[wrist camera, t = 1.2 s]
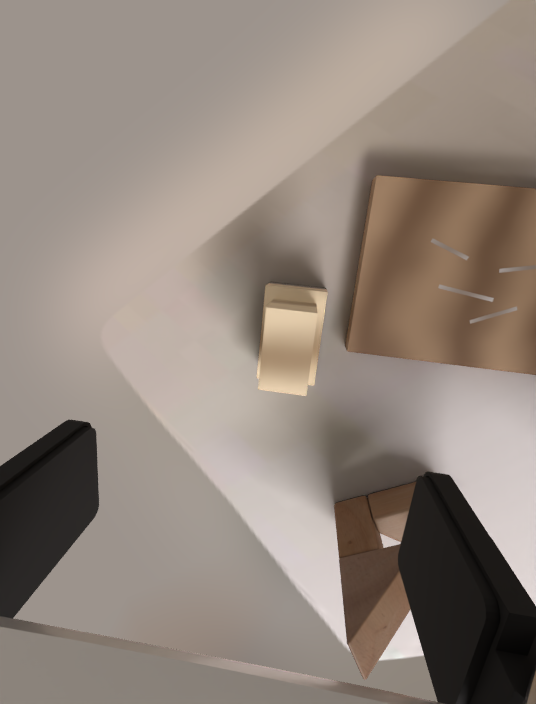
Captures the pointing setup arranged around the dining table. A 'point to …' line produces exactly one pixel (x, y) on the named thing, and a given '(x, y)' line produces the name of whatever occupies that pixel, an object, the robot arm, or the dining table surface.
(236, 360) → the dining table surface
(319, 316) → the block
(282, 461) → the dining table surface
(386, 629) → the wooden block
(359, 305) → the walnut board
